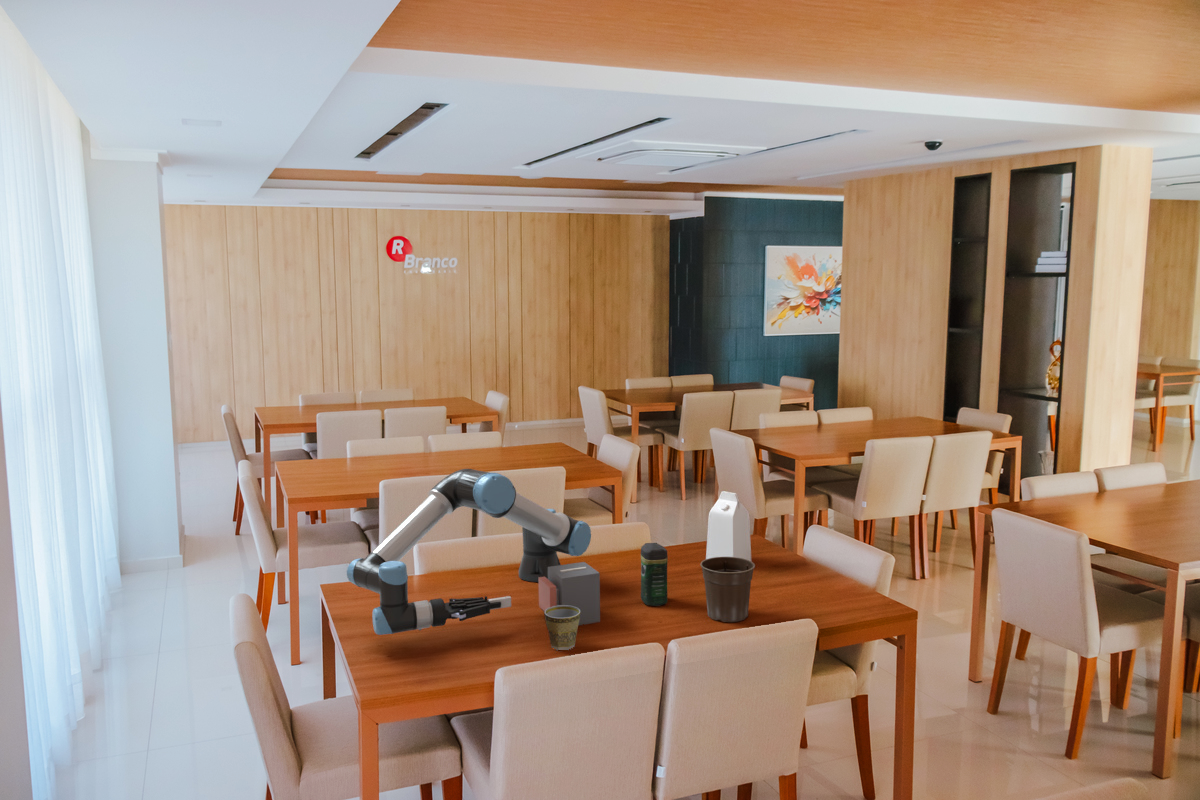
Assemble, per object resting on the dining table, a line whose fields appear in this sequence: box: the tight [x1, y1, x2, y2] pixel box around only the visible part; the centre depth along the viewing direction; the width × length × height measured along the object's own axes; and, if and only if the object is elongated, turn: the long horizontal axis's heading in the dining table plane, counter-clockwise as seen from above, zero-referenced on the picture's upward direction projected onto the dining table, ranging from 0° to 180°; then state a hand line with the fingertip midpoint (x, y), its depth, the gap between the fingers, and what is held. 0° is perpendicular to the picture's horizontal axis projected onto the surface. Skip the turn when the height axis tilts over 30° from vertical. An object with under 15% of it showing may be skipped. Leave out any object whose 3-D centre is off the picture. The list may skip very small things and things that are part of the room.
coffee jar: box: [640, 542, 669, 607], centre depth 268 cm, size 10×8×19 cm
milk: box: [705, 490, 752, 562], centre depth 307 cm, size 12×12×26 cm
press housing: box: [548, 561, 601, 626], centre depth 255 cm, size 12×12×15 cm
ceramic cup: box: [543, 605, 580, 651], centre depth 236 cm, size 13×10×10 cm
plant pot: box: [700, 557, 756, 623], centre depth 256 cm, size 16×16×16 cm
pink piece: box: [538, 577, 559, 612], centre depth 254 cm, size 14×10×9 cm
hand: (510, 601), depth 247 cm, fingers closed
